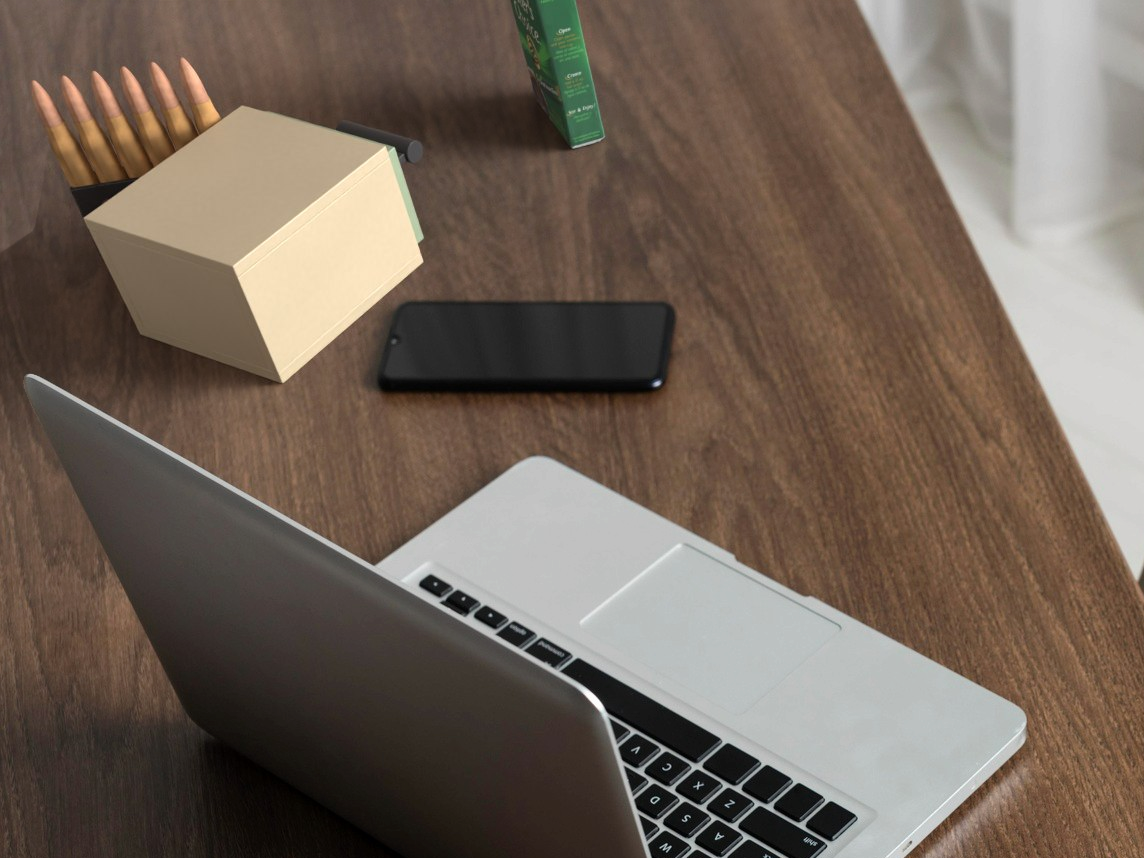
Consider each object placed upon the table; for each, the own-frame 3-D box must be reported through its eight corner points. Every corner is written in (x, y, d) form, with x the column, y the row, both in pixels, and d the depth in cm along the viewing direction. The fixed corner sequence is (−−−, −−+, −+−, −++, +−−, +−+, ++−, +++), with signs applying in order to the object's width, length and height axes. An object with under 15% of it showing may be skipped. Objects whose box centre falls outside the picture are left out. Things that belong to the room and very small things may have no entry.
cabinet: (286, 219, 116) (241, 104, 110) (423, 262, 113) (386, 145, 106) (139, 334, 108) (82, 217, 102) (282, 384, 105) (232, 266, 98)
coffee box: (531, 99, 125) (487, -78, 116) (568, 88, 126) (528, -88, 116) (569, 151, 121) (527, -28, 111) (607, 140, 122) (569, -39, 112)
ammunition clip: (268, 214, 115) (197, 47, 106) (266, 230, 114) (195, 62, 105) (103, 242, 114) (18, 75, 105) (100, 257, 113) (13, 90, 104)
